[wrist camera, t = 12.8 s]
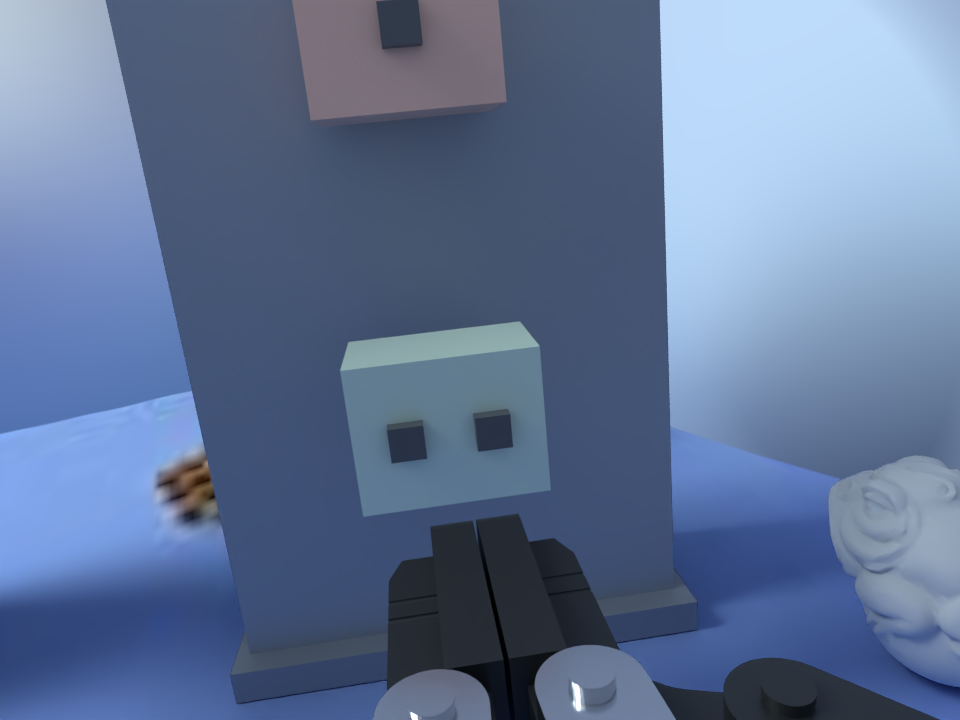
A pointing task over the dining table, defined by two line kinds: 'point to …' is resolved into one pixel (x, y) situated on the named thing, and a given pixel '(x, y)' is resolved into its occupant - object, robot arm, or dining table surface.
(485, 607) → the robot arm
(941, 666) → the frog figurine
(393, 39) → the pink rectangular block
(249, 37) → the large grey rectangular box
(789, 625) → the dining table surface
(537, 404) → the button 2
